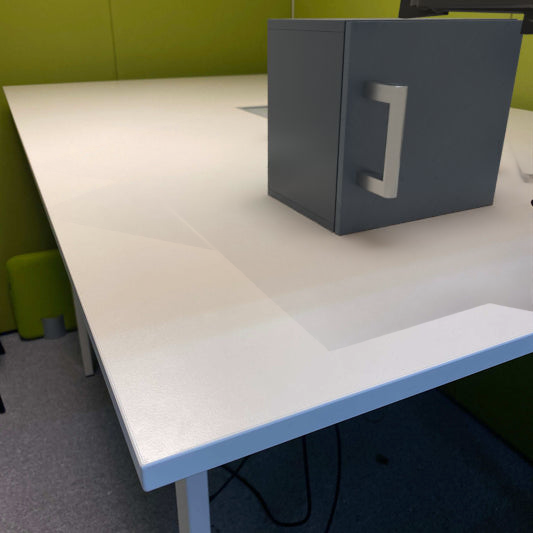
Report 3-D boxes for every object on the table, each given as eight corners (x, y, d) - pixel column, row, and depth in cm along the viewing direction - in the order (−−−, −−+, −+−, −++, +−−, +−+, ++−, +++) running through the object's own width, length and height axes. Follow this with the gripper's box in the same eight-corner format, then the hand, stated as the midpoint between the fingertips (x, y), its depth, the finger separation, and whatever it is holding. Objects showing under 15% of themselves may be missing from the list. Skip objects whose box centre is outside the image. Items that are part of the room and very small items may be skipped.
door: (527, 216, 74) (568, 20, 64) (368, 252, 63) (386, 22, 53) (487, 202, 79) (519, 19, 69) (334, 233, 68) (345, 21, 58)
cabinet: (485, 203, 79) (517, 18, 69) (333, 233, 69) (344, 20, 58) (404, 173, 94) (420, 17, 84) (267, 195, 83) (267, 18, 73)
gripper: (508, 35, 29) (340, 40, 48) (804, 73, 37) (561, 65, 56) (544, -130, 27) (352, -57, 46) (854, -52, 35) (582, -17, 54)
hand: (467, 10), depth 51 cm, fingers open, 13 cm apart
